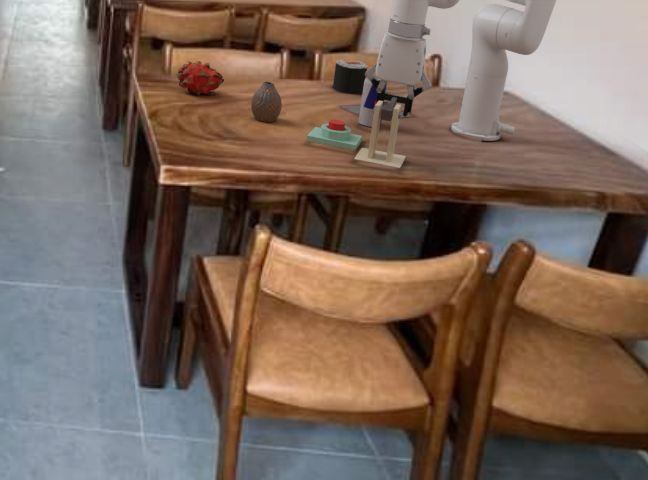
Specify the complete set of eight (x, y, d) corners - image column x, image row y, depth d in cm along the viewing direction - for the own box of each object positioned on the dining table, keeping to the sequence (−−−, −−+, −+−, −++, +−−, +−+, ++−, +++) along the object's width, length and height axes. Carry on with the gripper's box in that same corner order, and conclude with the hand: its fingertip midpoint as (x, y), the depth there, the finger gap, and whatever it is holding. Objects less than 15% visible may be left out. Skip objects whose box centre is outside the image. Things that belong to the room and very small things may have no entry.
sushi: (368, 94, 266) (372, 64, 263) (341, 93, 262) (345, 64, 259) (354, 85, 273) (358, 57, 269) (328, 85, 268) (331, 56, 265)
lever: (384, 100, 218) (385, 90, 217) (405, 105, 218) (407, 94, 216) (373, 118, 208) (375, 107, 206) (396, 122, 207) (398, 112, 206)
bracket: (361, 152, 217) (369, 95, 212) (405, 161, 216) (414, 104, 211) (353, 163, 209) (361, 105, 204) (399, 172, 208) (408, 114, 203)
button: (345, 129, 219) (346, 121, 218) (342, 133, 216) (343, 125, 215) (329, 126, 219) (330, 118, 218) (326, 129, 216) (327, 122, 215)
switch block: (361, 145, 222) (363, 128, 220) (354, 154, 215) (357, 137, 213) (314, 136, 223) (316, 118, 221) (305, 145, 216) (308, 127, 214)
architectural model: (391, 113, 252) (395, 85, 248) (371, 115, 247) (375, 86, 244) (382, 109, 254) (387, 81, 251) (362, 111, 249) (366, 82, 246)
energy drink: (377, 133, 233) (384, 83, 228) (355, 128, 234) (362, 78, 229) (381, 128, 238) (389, 79, 233) (360, 123, 238) (367, 74, 233)
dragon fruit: (170, 97, 239) (217, 106, 245) (181, 85, 232) (230, 94, 238) (171, 64, 240) (218, 73, 246) (182, 51, 233) (230, 61, 239)
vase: (265, 114, 233) (269, 77, 229) (286, 122, 229) (290, 85, 225) (243, 117, 228) (247, 80, 224) (264, 125, 224) (268, 88, 220)
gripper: (446, 34, 213) (432, 116, 221) (370, 20, 214) (358, 101, 222) (443, 40, 206) (428, 124, 214) (364, 24, 207) (352, 108, 215)
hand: (392, 111), depth 218 cm, fingers closed on lever, 5 cm apart
